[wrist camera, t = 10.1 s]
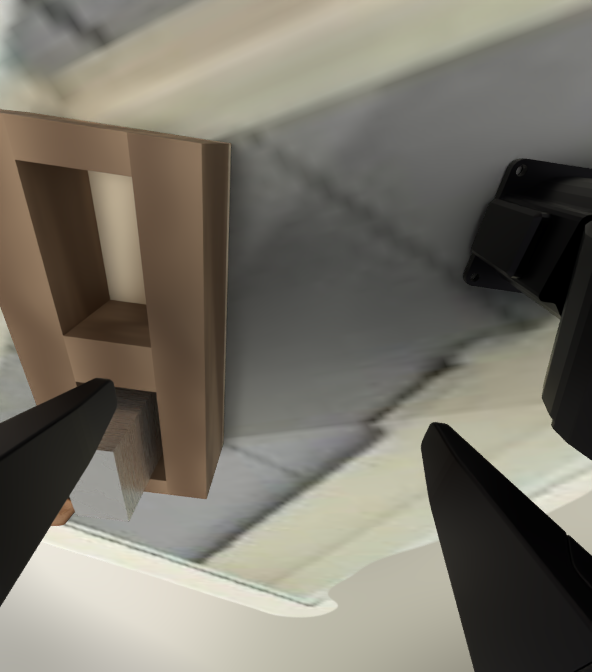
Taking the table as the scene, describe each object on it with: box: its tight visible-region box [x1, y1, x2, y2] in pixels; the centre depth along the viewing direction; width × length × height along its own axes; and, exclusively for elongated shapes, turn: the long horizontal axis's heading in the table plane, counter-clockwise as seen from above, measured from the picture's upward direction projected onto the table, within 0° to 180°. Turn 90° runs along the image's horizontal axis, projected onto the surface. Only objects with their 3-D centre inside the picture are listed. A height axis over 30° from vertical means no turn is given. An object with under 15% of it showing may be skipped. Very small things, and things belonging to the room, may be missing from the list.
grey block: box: [69, 387, 163, 522], centre depth 21 cm, size 3×6×8 cm, turn 172°
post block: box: [0, 109, 231, 499], centre depth 20 cm, size 10×22×5 cm, turn 172°
